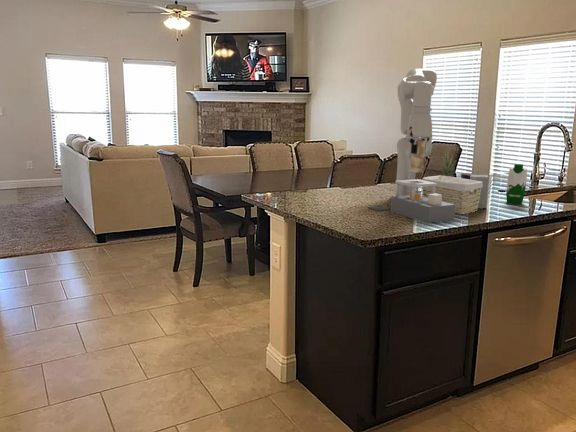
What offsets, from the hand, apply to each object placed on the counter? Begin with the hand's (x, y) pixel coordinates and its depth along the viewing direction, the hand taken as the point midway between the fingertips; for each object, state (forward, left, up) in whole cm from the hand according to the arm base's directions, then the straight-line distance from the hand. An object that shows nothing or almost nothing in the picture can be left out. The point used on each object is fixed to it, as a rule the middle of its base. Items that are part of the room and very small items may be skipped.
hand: (418, 152), depth 224 cm
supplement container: (-60, -28, -28) cm, 71 cm away
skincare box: (-39, -1, -28) cm, 48 cm away
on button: (0, +13, -23) cm, 27 cm away
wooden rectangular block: (0, 0, -8) cm, 8 cm away
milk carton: (-67, -3, -28) cm, 72 cm away
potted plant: (-64, -50, -28) cm, 85 cm away
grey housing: (0, +5, -27) cm, 28 cm away
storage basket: (-22, -1, -28) cm, 36 cm away
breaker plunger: (0, 0, -26) cm, 26 cm away
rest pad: (+9, -14, -27) cm, 32 cm away
